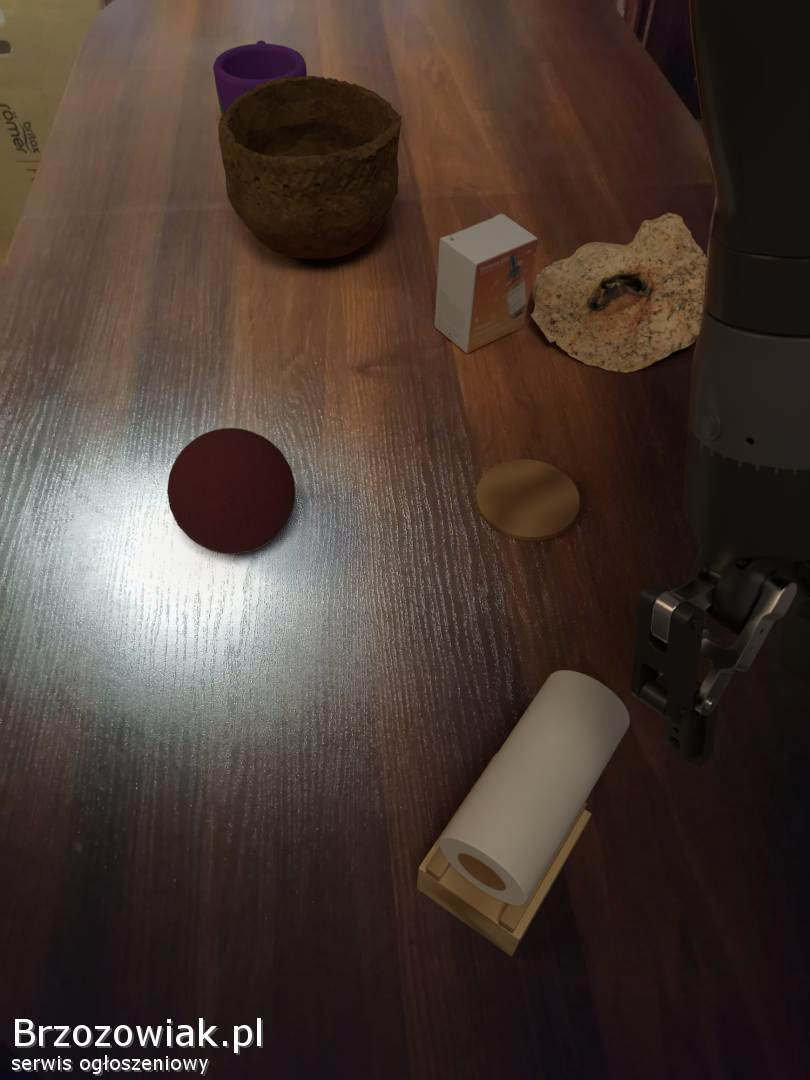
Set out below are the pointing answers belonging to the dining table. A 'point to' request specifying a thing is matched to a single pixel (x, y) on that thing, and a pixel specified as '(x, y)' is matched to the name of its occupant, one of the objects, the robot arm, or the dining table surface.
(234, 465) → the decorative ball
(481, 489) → the coaster
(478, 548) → the dining table surface
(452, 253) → the small box
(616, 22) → the dining table surface
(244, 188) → the bowl
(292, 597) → the dining table surface
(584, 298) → the beige speckled lump
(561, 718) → the paper towel roll
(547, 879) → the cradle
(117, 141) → the dining table surface
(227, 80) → the mug
